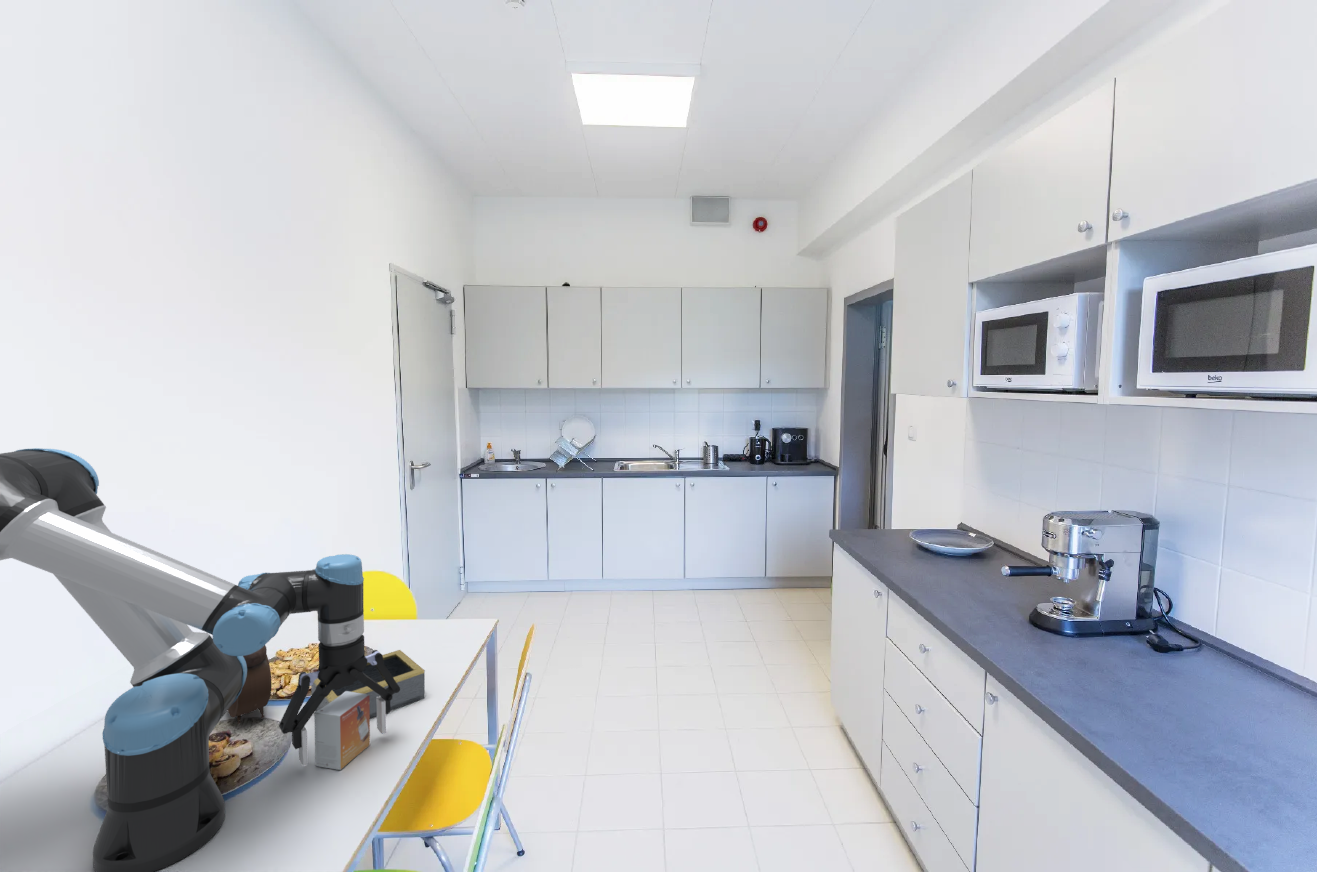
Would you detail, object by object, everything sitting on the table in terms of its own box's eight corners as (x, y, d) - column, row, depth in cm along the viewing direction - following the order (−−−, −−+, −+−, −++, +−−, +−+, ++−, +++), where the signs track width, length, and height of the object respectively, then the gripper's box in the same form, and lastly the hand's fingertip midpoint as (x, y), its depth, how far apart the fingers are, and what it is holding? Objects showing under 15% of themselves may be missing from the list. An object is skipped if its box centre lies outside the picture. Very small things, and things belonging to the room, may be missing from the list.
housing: (331, 733, 112) (331, 702, 112) (311, 705, 122) (311, 676, 121) (424, 698, 126) (424, 670, 125) (400, 675, 135) (399, 649, 135)
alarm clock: (278, 719, 116) (276, 627, 115) (236, 735, 111) (233, 638, 109) (257, 694, 126) (255, 609, 124) (217, 707, 120) (214, 618, 119)
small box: (340, 771, 101) (339, 716, 100) (314, 766, 102) (313, 712, 101) (371, 744, 109) (370, 693, 108) (346, 740, 110) (345, 689, 109)
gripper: (267, 667, 92) (271, 787, 94) (416, 624, 110) (417, 726, 112) (257, 652, 97) (261, 766, 99) (401, 614, 115) (402, 711, 117)
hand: (344, 745), depth 105 cm, fingers open, 13 cm apart
